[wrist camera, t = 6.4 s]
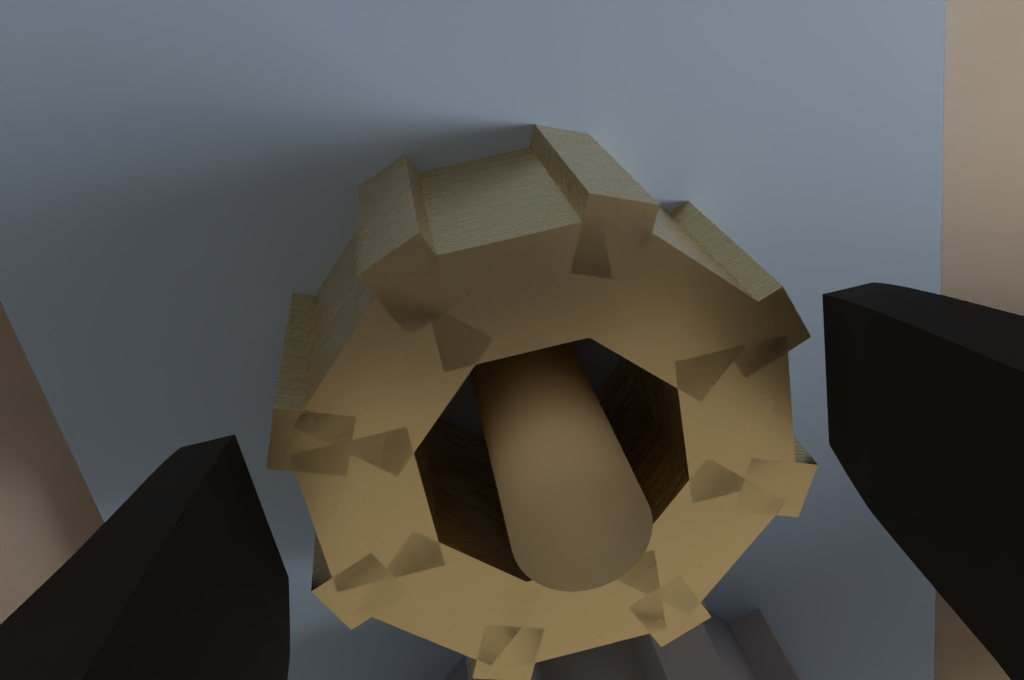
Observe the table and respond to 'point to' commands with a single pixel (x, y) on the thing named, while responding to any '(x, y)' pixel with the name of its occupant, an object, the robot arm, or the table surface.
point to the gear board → (499, 383)
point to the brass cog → (515, 330)
